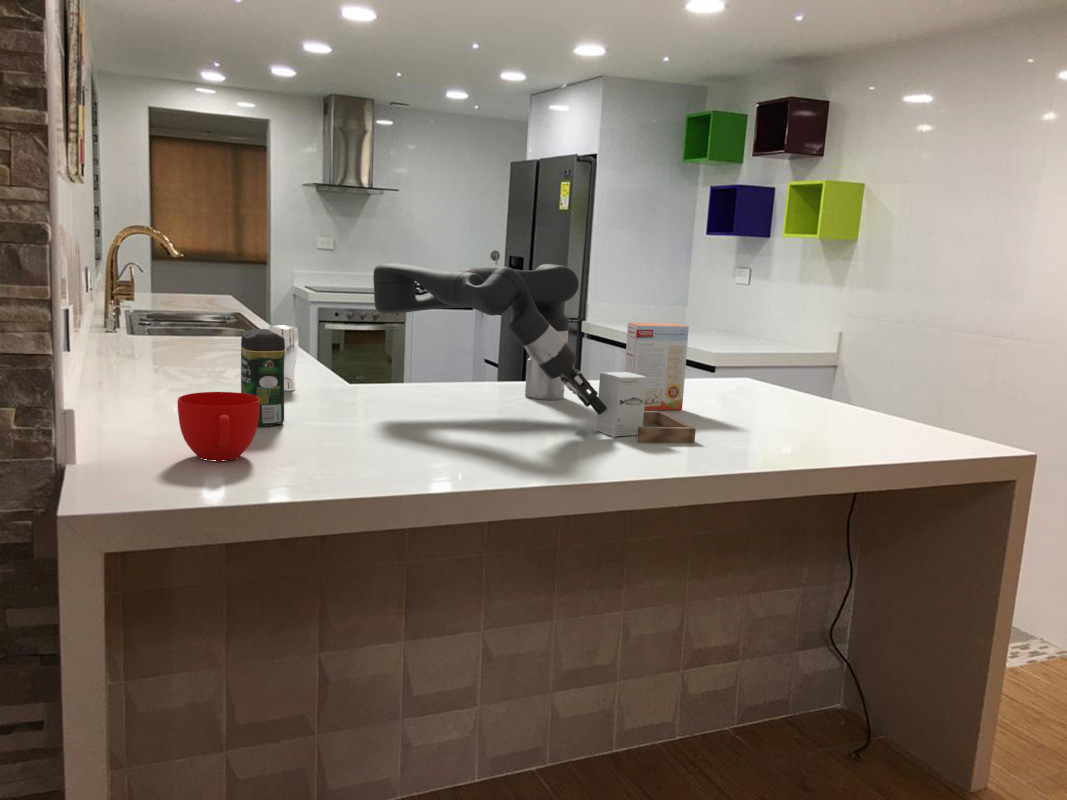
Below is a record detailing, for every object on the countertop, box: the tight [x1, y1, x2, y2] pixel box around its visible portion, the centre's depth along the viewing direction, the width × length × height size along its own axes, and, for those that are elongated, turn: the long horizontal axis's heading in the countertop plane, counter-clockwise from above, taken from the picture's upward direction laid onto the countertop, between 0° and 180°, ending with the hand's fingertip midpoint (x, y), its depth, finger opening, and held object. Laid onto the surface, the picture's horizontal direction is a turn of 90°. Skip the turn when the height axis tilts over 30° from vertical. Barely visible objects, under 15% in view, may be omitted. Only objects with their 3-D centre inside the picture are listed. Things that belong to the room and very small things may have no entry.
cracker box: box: [624, 322, 690, 411], centre depth 223 cm, size 14×6×21 cm, turn 109°
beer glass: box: [268, 325, 299, 392], centre depth 218 cm, size 7×7×15 cm
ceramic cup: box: [177, 391, 260, 462], centre depth 151 cm, size 13×17×10 cm
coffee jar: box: [240, 328, 285, 428], centre depth 180 cm, size 10×8×19 cm
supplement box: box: [595, 371, 647, 438], centre depth 192 cm, size 7×7×13 cm
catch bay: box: [636, 410, 697, 444], centre depth 195 cm, size 12×18×3 cm
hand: (596, 407), depth 194 cm, fingers open, 8 cm apart
